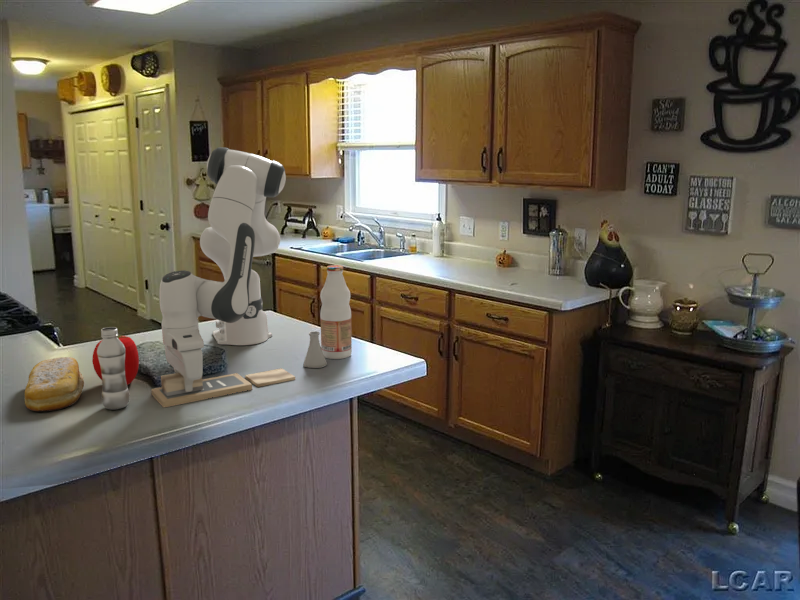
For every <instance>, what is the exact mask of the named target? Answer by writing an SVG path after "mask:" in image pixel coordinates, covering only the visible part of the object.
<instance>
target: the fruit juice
mask: <svg viewBox="0 0 800 600" xmlns="http://www.w3.org/2000/svg"><path fill="white" fill-rule="evenodd" d="M343 272H344V266H343V265H340V264H339V265H337V264H336V265H334V264H333V265H328V266H326V273H327V275H326V279H325V282H324V284H323V287H322V289H321V291H320V297H319V298H320V300H321V303H322V304H321V307H320V346H321V349H322V352H323V354H324V357H325V359H329V360H341V359H343V360H344V359H348V358H349V357H351V355H352V344H353V343H352V342H353V340H352V309H351V306H350V300H351V291H350V289H349V287H348V286H347V283H346V280H345V277H344V275H343Z"/></svg>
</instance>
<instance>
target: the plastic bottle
mask: <svg viewBox="0 0 800 600" xmlns="http://www.w3.org/2000/svg"><path fill="white" fill-rule="evenodd" d="M100 332H101V335H100V337H101V340H102V341H101V340H100V341H101V343H100V344H99V346H98V349H97V355H98V359H99V363H100V367H101V373H102V380H101V382H102V383H101V384H102V385H101V398H100V399H101V403H102V406H103V407H104V408H105V409H106V410H111V411H112V410H120V409H123V408H126V407H127V406H128V405H129V403H130V400H131V399H130V398H131V395H130V391H129V388H128V385H127V382H126V377H125V347H124V344H123V343H122V342H121V341H120V340H119V339H118V338H117V336H119V333H118V332H119V331H118V327H116V326H109V327H108V326H107V327H103V328H101V329H100Z"/></svg>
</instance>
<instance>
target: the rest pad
mask: <svg viewBox="0 0 800 600" xmlns="http://www.w3.org/2000/svg"><path fill="white" fill-rule="evenodd" d="M244 379H246V380H247V381H248V382H250V383H251V384H252V385H254V384H255V385H254V386H256V387H257V388H260V387H264V386H270V385H275V384H279V383H285V382H289V381H294V380H295V381H296V376H295V375H294V374H292V373H290V372H289V371H287V370H286V369H284V368H281V367H280V368H277V369H271V370H266V371H260V372H254V373H249V374H245V375H244Z"/></svg>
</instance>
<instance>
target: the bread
mask: <svg viewBox="0 0 800 600" xmlns="http://www.w3.org/2000/svg"><path fill="white" fill-rule="evenodd" d="M79 368H80V366H79V363H78V361H77V359H76V358H75V357H71V356H65V357H64V356H60V357H54V358H48V359H44V360H41V361H40V362H38V363H37V364H35V365H34V366H33V367H32V369H31V370H30V372H29V375H28V381H27V384H26V386H25V390H24V405H25V407H26V408H27V409H29V410H30V411H33V412H36V413H37V412H41V413H42V412H53V411H59V410H63V409H66V408H68V407H70V406H72V405H73V404H75V403H76V402H77V401H78V400H79V399H80V397H81V395H82V393H83V389H84V385H85V382H84V376H83V374H82V373H81V371H80V369H79Z"/></svg>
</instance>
